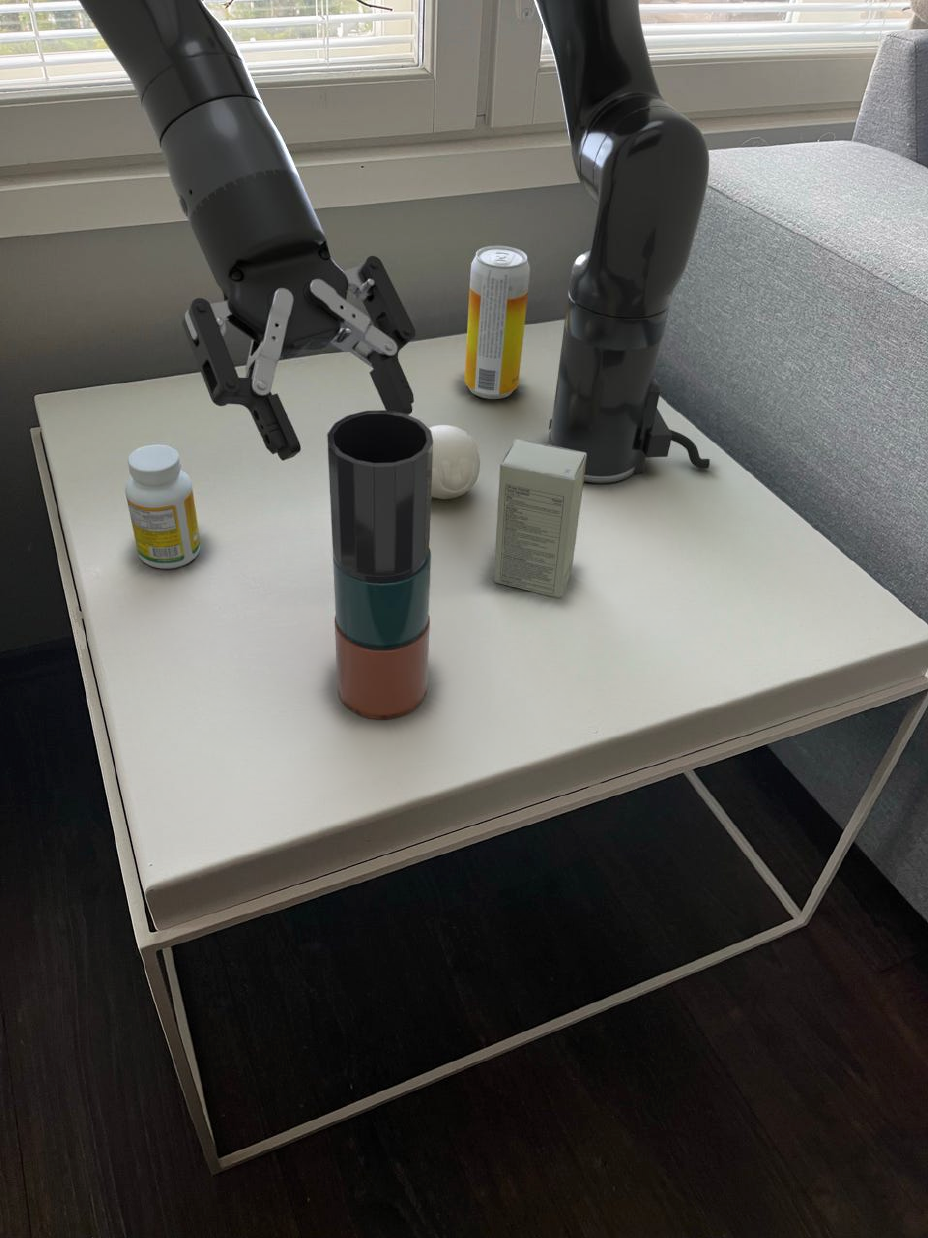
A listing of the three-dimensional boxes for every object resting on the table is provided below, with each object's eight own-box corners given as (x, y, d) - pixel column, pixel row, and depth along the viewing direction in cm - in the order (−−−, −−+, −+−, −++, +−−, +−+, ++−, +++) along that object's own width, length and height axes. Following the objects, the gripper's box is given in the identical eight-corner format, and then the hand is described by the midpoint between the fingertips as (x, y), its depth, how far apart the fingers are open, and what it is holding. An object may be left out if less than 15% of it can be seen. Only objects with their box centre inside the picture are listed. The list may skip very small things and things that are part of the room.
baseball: (421, 520, 90) (423, 459, 86) (399, 477, 95) (400, 417, 91) (489, 509, 92) (494, 449, 87) (464, 467, 97) (468, 408, 92)
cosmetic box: (572, 570, 86) (592, 452, 78) (560, 600, 83) (579, 480, 74) (503, 552, 87) (515, 434, 79) (488, 581, 84) (499, 462, 76)
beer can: (519, 377, 111) (532, 246, 101) (516, 403, 107) (529, 270, 97) (466, 372, 112) (474, 241, 101) (461, 398, 107) (469, 264, 97)
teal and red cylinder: (421, 652, 77) (426, 520, 68) (432, 716, 72) (438, 582, 63) (335, 658, 76) (329, 524, 67) (340, 723, 71) (333, 588, 62)
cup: (422, 521, 68) (426, 408, 62) (433, 580, 64) (438, 464, 58) (330, 526, 67) (325, 411, 61) (335, 585, 63) (329, 468, 57)
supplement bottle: (164, 578, 82) (145, 484, 76) (125, 551, 84) (104, 457, 78) (214, 550, 85) (200, 457, 79) (176, 524, 88) (159, 432, 81)
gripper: (150, 185, 55) (270, 453, 56) (360, 147, 62) (463, 386, 63) (126, 248, 61) (234, 486, 62) (319, 207, 68) (413, 422, 69)
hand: (349, 435), depth 63 cm, fingers open, 8 cm apart
